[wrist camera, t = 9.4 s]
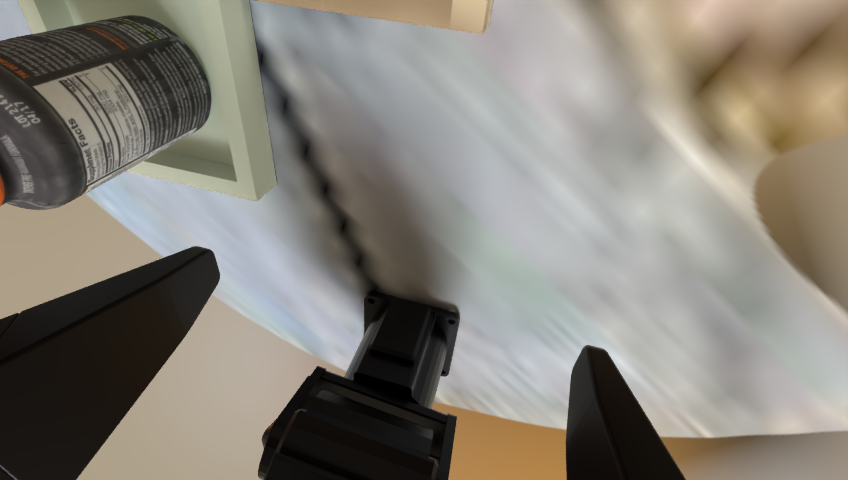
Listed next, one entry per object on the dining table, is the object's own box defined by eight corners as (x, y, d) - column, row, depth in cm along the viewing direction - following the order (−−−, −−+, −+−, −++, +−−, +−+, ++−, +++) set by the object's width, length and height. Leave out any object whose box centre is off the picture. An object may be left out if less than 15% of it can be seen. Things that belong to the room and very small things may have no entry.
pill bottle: (104, 81, 23) (-182, 173, 14) (121, -16, 19) (-246, 25, 10) (198, 152, 24) (-10, 278, 15) (231, 73, 21) (-16, 177, 12)
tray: (276, 183, 25) (256, 201, 23) (119, 149, 26) (91, 163, 25) (243, -37, 18) (212, -34, 16) (35, -65, 20) (-12, -65, 18)
